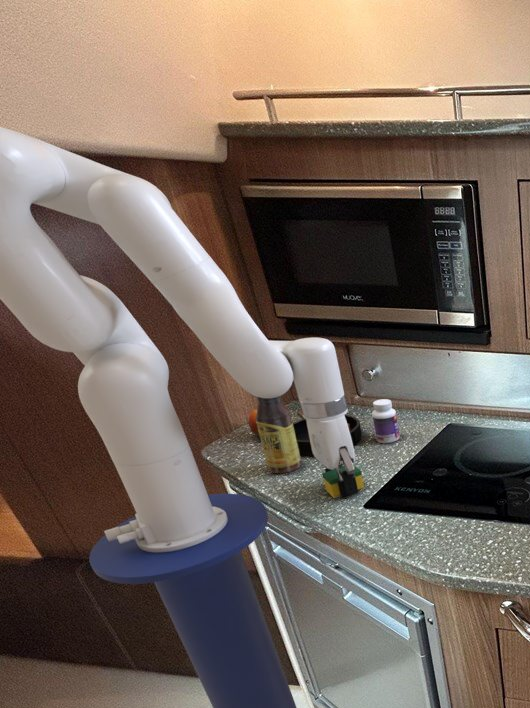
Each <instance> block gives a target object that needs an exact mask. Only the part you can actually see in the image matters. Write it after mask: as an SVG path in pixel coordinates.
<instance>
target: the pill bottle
mask: <svg viewBox="0 0 530 708" xmlns="http://www.w3.org/2000/svg"><path fill="white" fill-rule="evenodd" d="M372 406H373V411H372V412H371V417H372V423H373V428H374V435H375V439H376V440H375V441H377V442H378V443H381V444H391V443H394V442H397V441H398V440H400V437H401V436H400V435H401V434H400V428H399V422H398V417H397V411H396V410H395V409H394V408H393V404H392V400H390V399H387V398H382V399H377V400H374V401H373V402H372Z"/></svg>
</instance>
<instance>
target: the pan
mask: <svg viewBox="0 0 530 708" xmlns="http://www.w3.org/2000/svg"><path fill="white" fill-rule="evenodd" d="M296 414H297V416H298V417H299V418H300V420H297V421H295V422H293V427H294V431H295V435H296V440H297V444H298V449H299V453H300V457H309V458H311V457H315V456H314V454H313V452H312V448H311V443H310V438H309V433H308V428H307V421H306V419H305V418H303V414H302V411H301V410H298V411H296ZM345 418H346V421H347V423H348V424H350V429H351V431H349V432H350V435H351V439H352V443H353V447H356V446H357V445H358V444H359V443H360V442H361V441H362V439H363V434H362V427H361V422H360V419H358V418H357V417H356V416H354V415H349V414H345ZM315 458H316V457H315Z"/></svg>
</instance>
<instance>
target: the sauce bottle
mask: <svg viewBox="0 0 530 708" xmlns="http://www.w3.org/2000/svg"><path fill="white" fill-rule="evenodd" d="M256 410H257V416H256V423H257V428H258V431H259V435H260V437H259V438H260V443H261V446H262V450H263V454H264V457H265V462H266V465H267V466H268V469H269V470H270V472H272V473H275V474H288V473H290V472H294V471H295V470H297V469H299V468H300V467H301V465H302V460H301V456H300V453H299V449H298V444H297V440H296V435H295V431H294V427H293V423H294V422H293V421H292V417H291V416H292V415H291V412H290V409H289V407H288V406H286V405H285V404H284V402H283V401H282V400H281V396H278V397H275V398H260V397H257V407H256Z"/></svg>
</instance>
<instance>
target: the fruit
mask: <svg viewBox="0 0 530 708" xmlns="http://www.w3.org/2000/svg"><path fill="white" fill-rule="evenodd" d="M256 416H257V409H253V410H252V411H251V412H250V414H249V416H248V427H249V428H250V431H251V432H252V433H253V434H254V436H255V437H259V438H260V435H259V431H258V428H257V423H256Z"/></svg>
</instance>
